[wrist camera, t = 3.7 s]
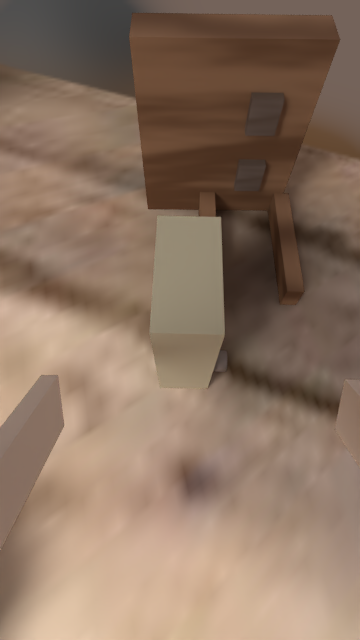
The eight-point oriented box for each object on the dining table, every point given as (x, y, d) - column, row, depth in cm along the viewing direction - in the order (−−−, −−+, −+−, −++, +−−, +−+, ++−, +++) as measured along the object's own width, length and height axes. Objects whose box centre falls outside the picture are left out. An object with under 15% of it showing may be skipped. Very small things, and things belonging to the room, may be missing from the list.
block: (220, 389, 29) (245, 335, 18) (160, 387, 29) (149, 332, 18) (218, 305, 33) (238, 217, 22) (164, 304, 33) (157, 215, 22)
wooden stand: (295, 304, 33) (390, 163, 18) (142, 302, 33) (113, 160, 18) (278, 189, 39) (339, 15, 24) (149, 188, 39) (132, 13, 24)
